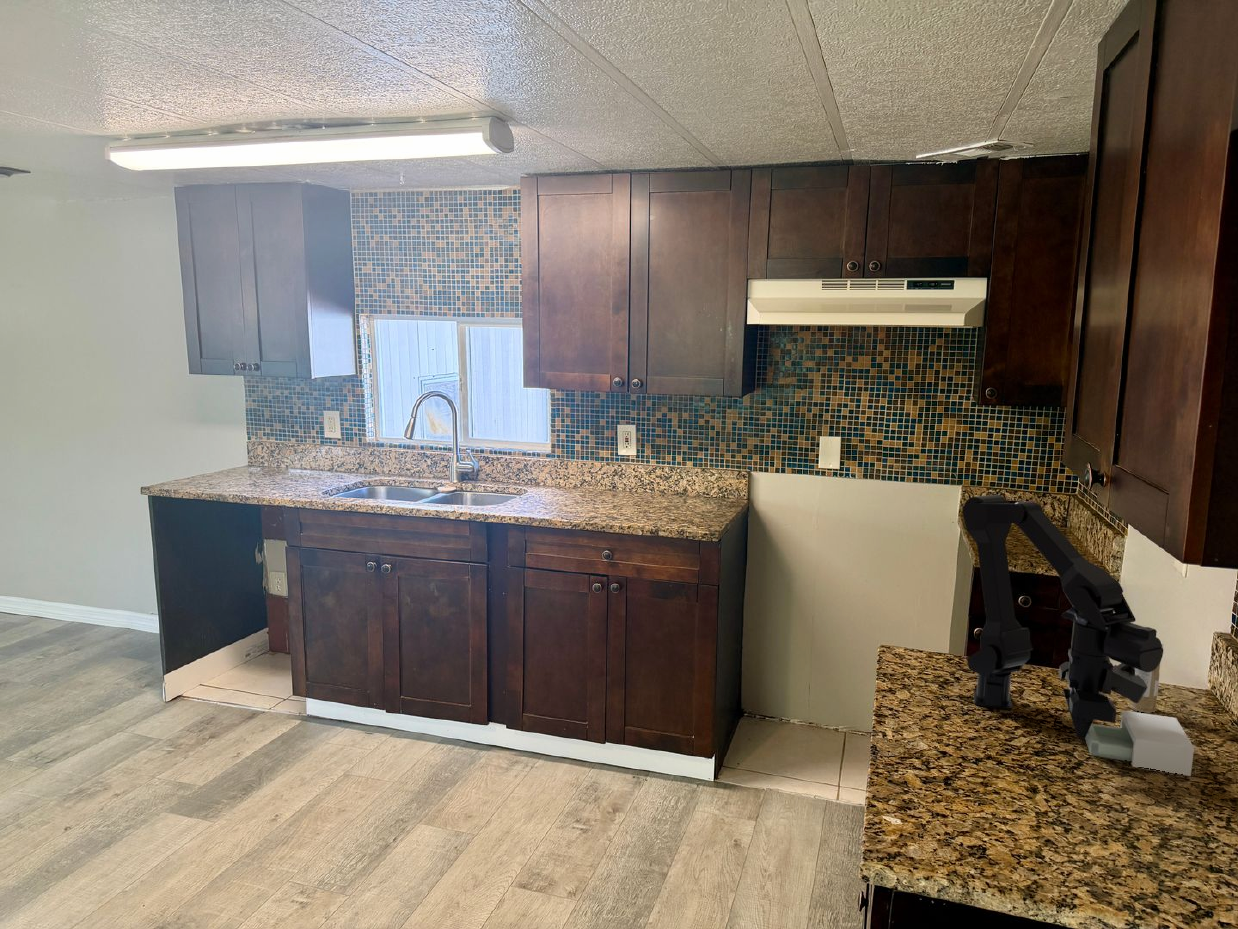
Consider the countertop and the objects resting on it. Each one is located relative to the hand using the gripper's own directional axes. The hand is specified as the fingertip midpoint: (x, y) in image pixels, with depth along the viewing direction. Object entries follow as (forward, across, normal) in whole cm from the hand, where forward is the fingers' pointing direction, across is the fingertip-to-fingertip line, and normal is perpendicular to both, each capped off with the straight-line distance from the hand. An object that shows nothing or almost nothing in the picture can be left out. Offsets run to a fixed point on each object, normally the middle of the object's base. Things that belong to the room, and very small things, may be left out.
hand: (1080, 738), depth 144 cm
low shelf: (+1, 0, -11) cm, 11 cm away
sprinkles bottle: (+1, +20, -13) cm, 24 cm away
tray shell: (+1, 0, -7) cm, 7 cm away
